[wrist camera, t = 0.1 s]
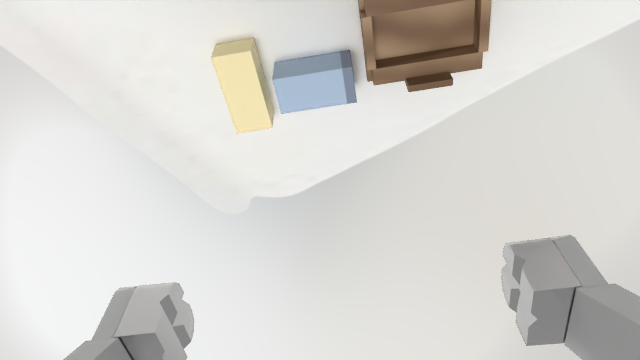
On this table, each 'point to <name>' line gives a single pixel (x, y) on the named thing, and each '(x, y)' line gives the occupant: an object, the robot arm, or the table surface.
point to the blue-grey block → (314, 82)
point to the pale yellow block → (243, 85)
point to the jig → (423, 40)
